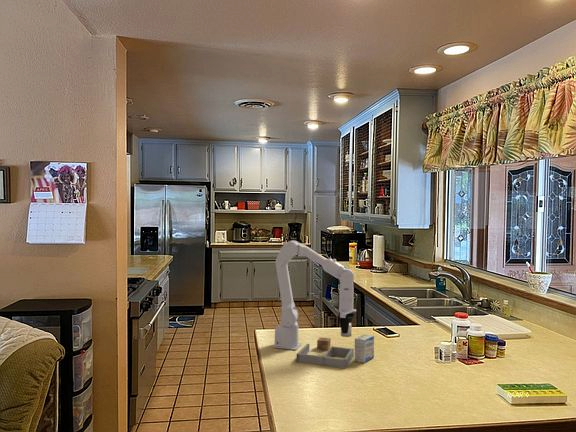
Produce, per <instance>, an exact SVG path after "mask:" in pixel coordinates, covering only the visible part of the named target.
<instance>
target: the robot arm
mask: <svg viewBox="0 0 576 432" xmlns="http://www.w3.org/2000/svg"><path fill="white" fill-rule="evenodd" d="M279 249H280V250H279V252H278V254H277V257H276V259H275V269H276V274H277V275H276V276H277V282H278V287H279V288H278V289H279V293H280V294H279V295H280V301H281V310H280V311H281V315H280V323H281V324H280V323H279V324H276V326H275V329H274V346H273V348H275V349H283V350H292V351H297V349H298V348H299V347H301V345H302V343H301V342H300V343H299V323H298V322H297V320H298V319H299V311H298V309H297V307H296V304H295V302H294V298H293V290H292V284H291V283H292V282H291V277H290V272H289V265H288V264H289V263H290V262H291V260H292V259H293V258H294V257H296V255H297V256H298V257H307V258H308V259H310V260H311V261H313V262H314V263H317V264H319V265H321V266H322V269H323V271H324V272H325V273H327V274H329V275H331V276H332V277H334V278H336V279H339V282H340V283H339V284H340V285H339V293H338V294H339V299H338V300H339V301H338V303H339V306H338V307H339V308H338V312H339V313H340V314H338V315H337V316H336V317H337V320H338V322H339V325H340V332H341V331H342V333H346V334H347V333H348V328H349V323H352V322H353V319H354V316H355V314H356V312H357V309H356V308H355V309H354V289H355V287H354V280H355V273H354V271H353V270H352V269H351V268H349V267H347V265H343V264H341V263H340V262H337V259H336V258H333V259H332V258H330V257H329V258H326V257H324V256H322V255H321V254H319V253H318V252H316V251H315V250H313V249H312V248H311V247H308V246H307V245H305V244H303V243H301V242H299V241H297V240H295V239H292V240H289V241H287V242H285V243H284V244H283V245H282V246H281V247H280V248H279Z"/></svg>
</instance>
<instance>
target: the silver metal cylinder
mask: <svg viewBox="0 0 576 432" xmlns="http://www.w3.org/2000/svg"><path fill="white" fill-rule="evenodd" d="M352 324H353V323H352V322H351V323H349V328H348V333H347V334H346V333H342V331H341V330H340V337H343V338H350V337H352V327H353V325H352Z"/></svg>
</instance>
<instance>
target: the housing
mask: <svg viewBox="0 0 576 432" xmlns="http://www.w3.org/2000/svg"><path fill="white" fill-rule="evenodd" d="M308 353H310V343H306V344H305V345H304V346H303V347H302V348H301V349H300V350H299V351H298V352H297V353H296V363H301V364H309V365H316V366H323V367H324V366H325V367H327V366H328V367H332V368H333V367H334V368H342V369H347V368H348V367H349V365H350V363H351V362H352V360H353V358H355V348H350V347H341V346H330V349H329V350H328V351H326V353H325V354H324V355H323V356H322V355H314V354H308ZM333 356H339V357H338V358H337V357H333ZM341 357H344V358H341Z"/></svg>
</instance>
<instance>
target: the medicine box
mask: <svg viewBox="0 0 576 432" xmlns="http://www.w3.org/2000/svg"><path fill="white" fill-rule="evenodd" d="M374 358H375V336H374V335H371V334H367V333H366V334H362V335H361V336H358V337H355V339H354V361H355V362H358V363H363V364H366V363H367V362H369V361H370V360H372V359H374Z"/></svg>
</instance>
